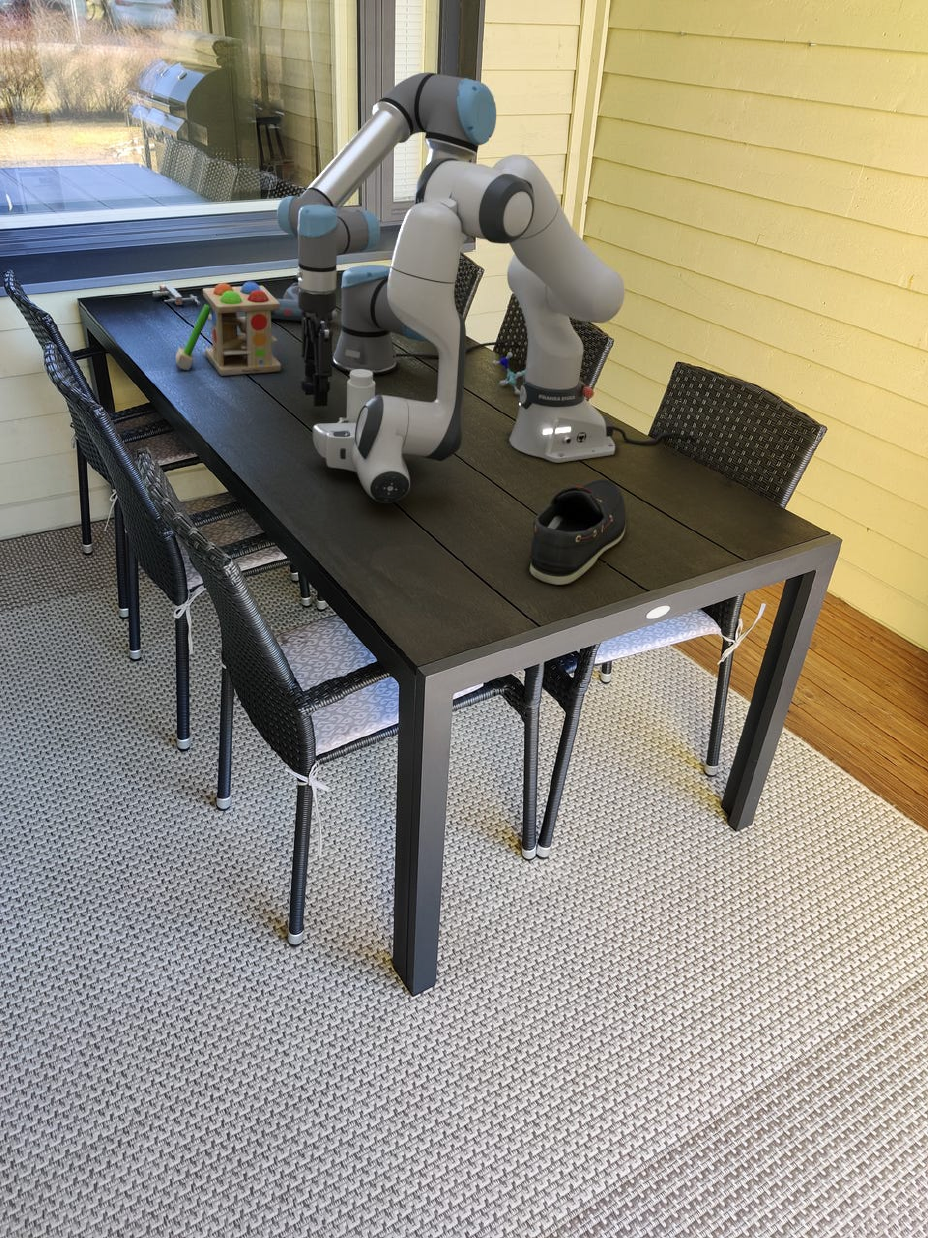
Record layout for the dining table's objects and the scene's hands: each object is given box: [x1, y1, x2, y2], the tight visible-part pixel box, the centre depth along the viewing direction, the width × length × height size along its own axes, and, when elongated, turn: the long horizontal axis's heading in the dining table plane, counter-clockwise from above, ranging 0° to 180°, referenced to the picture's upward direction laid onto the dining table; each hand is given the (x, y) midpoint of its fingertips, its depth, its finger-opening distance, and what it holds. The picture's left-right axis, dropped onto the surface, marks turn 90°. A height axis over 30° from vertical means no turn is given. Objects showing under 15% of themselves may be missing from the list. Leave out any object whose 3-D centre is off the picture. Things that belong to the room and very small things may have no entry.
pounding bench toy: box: [174, 281, 282, 377], centre depth 225 cm, size 23×14×18 cm, turn 116°
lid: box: [300, 375, 331, 394], centre depth 207 cm, size 6×6×2 cm
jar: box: [346, 369, 376, 423], centre depth 193 cm, size 5×5×16 cm
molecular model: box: [491, 351, 527, 396], centre depth 231 cm, size 12×10×10 cm
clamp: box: [152, 284, 202, 306], centre depth 265 cm, size 15×2×10 cm
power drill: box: [271, 282, 338, 323], centre depth 265 cm, size 5×19×20 cm
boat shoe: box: [529, 479, 627, 586], centre depth 172 cm, size 13×33×10 cm, turn 147°
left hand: (316, 399), depth 209 cm, fingers closed on lid, 6 cm apart
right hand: (359, 420), depth 195 cm, fingers closed on jar, 5 cm apart
